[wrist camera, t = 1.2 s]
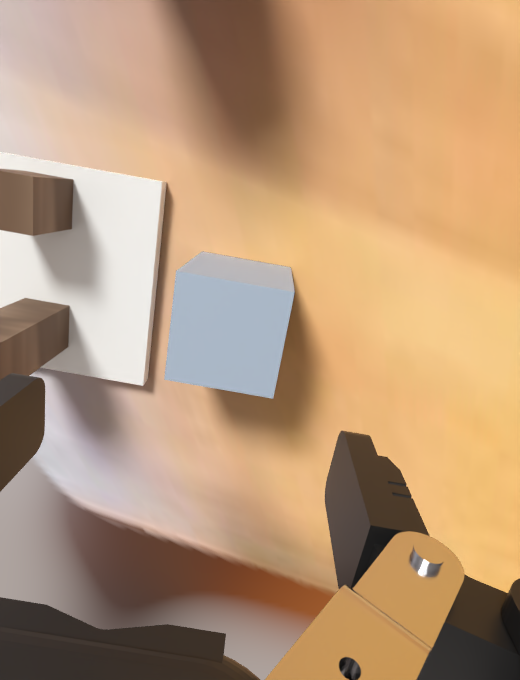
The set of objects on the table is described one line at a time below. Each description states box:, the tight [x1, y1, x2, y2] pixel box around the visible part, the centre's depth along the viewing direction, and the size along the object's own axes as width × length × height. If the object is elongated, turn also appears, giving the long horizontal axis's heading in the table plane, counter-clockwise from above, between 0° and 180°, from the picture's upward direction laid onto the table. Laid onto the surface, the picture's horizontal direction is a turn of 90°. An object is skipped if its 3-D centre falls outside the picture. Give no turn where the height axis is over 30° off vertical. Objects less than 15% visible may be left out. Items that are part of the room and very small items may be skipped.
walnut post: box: [0, 298, 70, 380], centre depth 22 cm, size 3×3×7 cm
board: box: [0, 152, 167, 386], centre depth 25 cm, size 12×12×1 cm
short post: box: [0, 169, 73, 236], centre depth 22 cm, size 3×3×4 cm
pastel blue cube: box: [164, 252, 295, 399], centre depth 23 cm, size 5×5×7 cm
